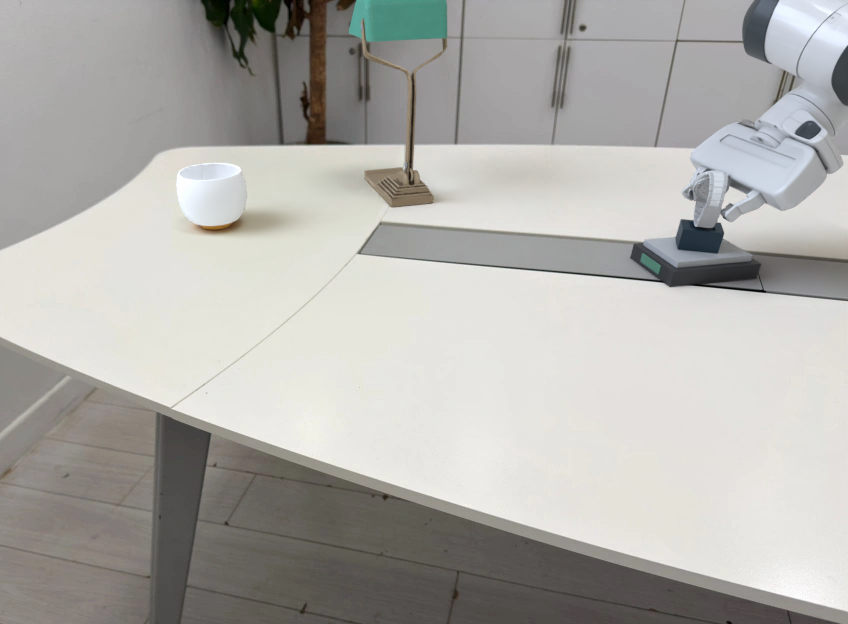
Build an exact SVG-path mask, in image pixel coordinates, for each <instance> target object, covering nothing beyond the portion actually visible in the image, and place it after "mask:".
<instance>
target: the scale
mask: <svg viewBox="0 0 848 624" xmlns="http://www.w3.org/2000/svg"><path fill="white" fill-rule="evenodd" d="M675 238H676V236H670V237H659V238H646V239H645V238H644V240H643V242H638V243H636V242H635V243H633V245H632V249H631V252H630V259H631V260H633V261H634V262H635V263H637V264H638V265H640V266H641V267H642V268H644V269H645V270H646V271H648V272H649V273H651V274H652V275H653V276H654V277H656V278H657V279H658V280H660V281H661V282H662V283H664V284H665V285H667V286H668V287H680V286H682V287H683V286H692V285H702V284H712V283H713V284H715V283H722V282H723V283H724V282H734V281H744V280H756V279H757V278H758V275H759V273H760V269H761V267H762V263H761V262H759V261H758V260H756V259H754V258H753V254H752V253H750V252H748V251H747V250H744V249H743V248H742V247H739V246H737V245H736V244H734V243H732V242H731V241H730V240H729V241H728V240H727V239H725V238H723V239H722V242H721V246H720V249H719V252H718V253H710V252H700V251H690V250H681V249H677V244H676V239H675Z"/></svg>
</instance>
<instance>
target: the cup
mask: <svg viewBox="0 0 848 624" xmlns="http://www.w3.org/2000/svg"><path fill="white" fill-rule="evenodd" d="M175 184H176V185H175V186H176V194H177V200H178V204H179V206H180V209H181V211H182V213H183V215H184V217H186V218H187V220H189V221H190V222H191V223H192V224H194V225H198V226H200V227H201V228H202V229H204V230H211V231H216V230H224V229H226V228H229V227H230V226H232V224H233V223H234V222H236V221H238V220H239V219H240V218H241V216H242V215H243V213H244V211H245V210H246V205H247V199H248V191H247V181H246V179H245V176H244V173H243V170H242V168H241V167H240V166H238V165H236V164H233V163H227V162H204V163H198V164H193V165H189V166H185V167H183V168H181V169H180V170H178V171H177V174H176V183H175Z"/></svg>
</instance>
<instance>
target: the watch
mask: <svg viewBox="0 0 848 624" xmlns="http://www.w3.org/2000/svg"><path fill="white" fill-rule="evenodd" d="M689 183H690V185H689V187H693V197H694V200H693V202H695V204H694V210H693V219H686V218H685V219H684V218H681V219H680V221H679V224H678V227H677V231H676V235H675V237H676V238H675V239H676V244H677V249H681V250H690V251H700V252H710V253H718V252H719V249H720V246H721V242H722V239H724V236H725V230H724V228H723V225H722V223H721V222H719V221H718V220H719V218H720V216H721V214H720V212H721V210H722V209H723V208H722V207H723V204H724V201H725V196H726V193H727V192H728V191H729V189H730V178H729V174H728V173H724V172H721V171H707V172H704V173H702V174H699V175H698V176H697V177H696V178H695V179H694V180H693V182H690V181H689Z"/></svg>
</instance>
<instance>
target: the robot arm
mask: <svg viewBox="0 0 848 624" xmlns="http://www.w3.org/2000/svg"><path fill="white" fill-rule="evenodd" d="M741 29H742V30H741V37H742V38H741V39H742V44H743V49H744V52H745V53H746V55H748V57H752V58H754V59H756V60H759V61H762V62H764V63H767V64H769V65H773V66H776V67H777V68H779V69H781V70H783V71H785V72H786V73H789V74H790V75H792V76H794V77H796V78H798V79H800V80H802V81H803V82H802V83H801V84H800V85H798V86H797V87H796V88H794V89H792V90H790V91H788V92H787V93H785V94H784V95H783V96H782V97H781V98H779V99H778V100H777V101H776V102H775V103H774V104H773V105H772V106H770V108H769V109H767V110H766V111H765V112H764V113H763V114H762V115H761V116H760V117H758V118H757V119H756V120H755V122H753V121H752V120H751V119H745V118H744V119H742V120H741V121H736V122H732V123H730V124H727V125H725V126H723V127H721V128H720V129H718V130H717V131H715V132H714V133H712V134H711V135H710V136H708V138H707V139H705V140H704V141H702V142H701V143H700V144H699V145H698V146H696V147H695V148H694V149H693V150H692V152H691V153H690V157H689V161H690V162H691V164H692V165H693V167H694V168H695V171H694V172H693V174H692V177H691V179H690V181H689V183H688V184H687V185H686V186H685V187H684V188H682V190H681V195H682V196H683V197H684V199H687V200H688V201H690V202H693V201H694V197H693V187H689V185H690V182H693V180H694V179H695V178H696V177H697V176H698V175H699V174H702V173H704V172H707V171H721V172H724V173H728V174H729V178H730V186H729V188H732V189H734V190H736V191H738V192H740V193H743V194H745V195H746V196H745V197H746V198H743V199H742V200H740V201H738V202H736V203H734V204H733V203H731V202H729V203H728V204H726V206H725V207H724V208H722V210H721V212H720V216H721V217H722V219H724V220H726V221H727V222H729V223H733V222H735V221H736V220H738V219H739V217H741V216H742V215H745V214H748V213H750V212H753V211H757V210H759V209H760V208H761V207H762V206H763V205H768V206H769V207H772V208H775V209H777V210H778V211H780V212H785V211H787V210H791V209H794V208H795V207H797V206H798V205H800V204H801V203H803V202H804V201H805V200H806V199H807V198H809V197H810V196H812V194H813V193H814V192H815V191H816V190H817V189H818V188H819V187H821V186H822V185H823V184H824V182H825V181H826V179H827V178H828V175H832V174H834V173H836V172H837V171H839V170H840V169H841V168H842V167H843V166H844V160H843V158H842V155H841V153H840V151H839V149H838V146H837V145H836V143H835V141H834V138H835V137H836V136H837V135H838V134H839V132H840V131H841V129H842V128H843V127H844V126H845V125H846V124H847V123H848V0H753V1H752V2H751V4H750V5H749V7H748V9H747V10H746V12H745V14H744V17H743V20H742V27H741Z"/></svg>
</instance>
